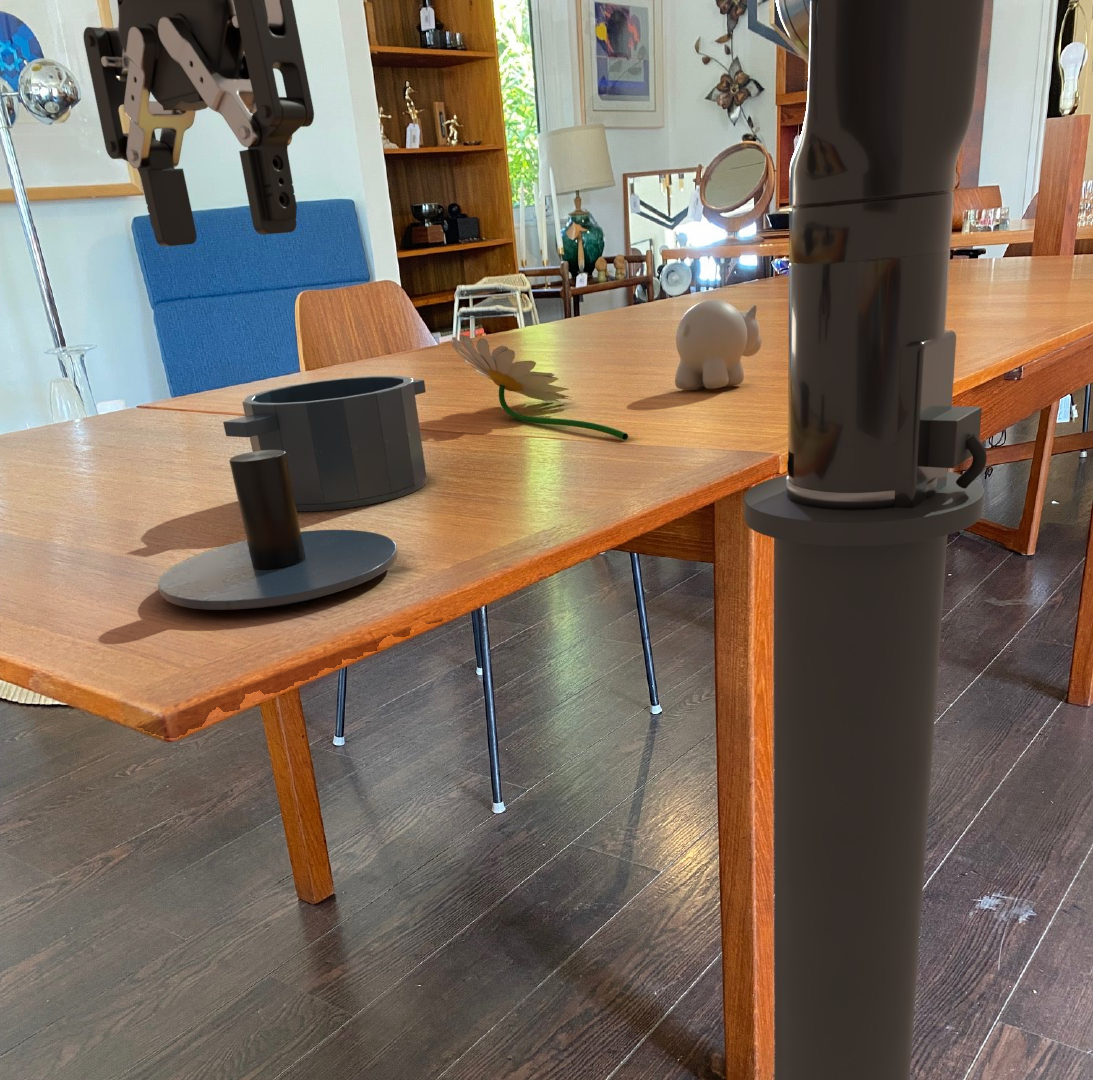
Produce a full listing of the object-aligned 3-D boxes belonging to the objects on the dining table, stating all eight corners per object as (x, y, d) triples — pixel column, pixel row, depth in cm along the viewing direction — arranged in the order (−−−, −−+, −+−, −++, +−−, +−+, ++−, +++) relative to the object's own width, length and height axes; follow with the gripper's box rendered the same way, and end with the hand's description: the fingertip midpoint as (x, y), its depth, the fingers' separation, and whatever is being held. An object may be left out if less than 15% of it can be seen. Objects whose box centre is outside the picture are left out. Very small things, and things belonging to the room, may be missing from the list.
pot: (482, 468, 84) (470, 370, 81) (312, 527, 72) (290, 413, 69) (373, 461, 91) (358, 370, 88) (201, 513, 79) (177, 409, 76)
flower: (585, 371, 85) (437, 316, 108) (554, 435, 86) (415, 367, 109) (697, 438, 93) (537, 373, 116) (667, 495, 94) (515, 420, 117)
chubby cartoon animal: (788, 375, 113) (788, 290, 110) (718, 395, 106) (716, 303, 103) (733, 374, 118) (732, 291, 115) (663, 392, 111) (659, 305, 107)
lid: (447, 559, 62) (430, 434, 59) (265, 635, 53) (234, 492, 49) (295, 538, 70) (274, 427, 67) (114, 602, 60) (79, 476, 57)
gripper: (312, -176, 47) (370, 225, 54) (133, -95, 56) (203, 243, 63) (167, -213, 42) (252, 235, 49) (-5, -118, 51) (88, 254, 58)
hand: (224, 239), depth 56 cm, fingers open, 8 cm apart
